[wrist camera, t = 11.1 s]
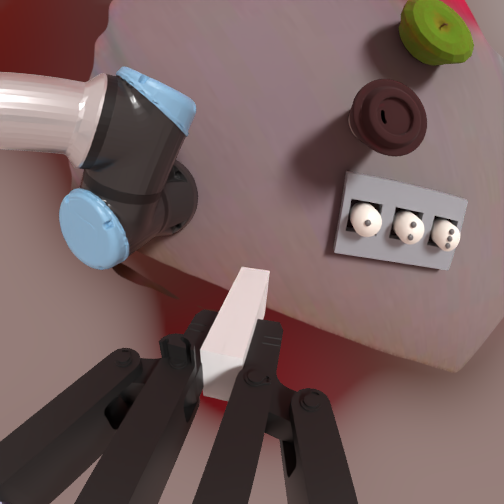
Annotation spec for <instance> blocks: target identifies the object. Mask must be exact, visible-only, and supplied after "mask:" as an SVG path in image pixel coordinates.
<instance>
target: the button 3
mask: <svg viewBox="0 0 504 504" xmlns="http://www.w3.org/2000/svg"><path fill="white" fill-rule="evenodd" d="M430 238H431V239H432V240H433V241H434V242H435V243H436V244H437V245H438V246H439V247H440V248H441V249H442V250H443V251H452V250H453V249H455V248H456V246H457V245H458V243H459V241H460V232H459V230H458V228H457V227H456V226H454V225H453V224H451V223H450V222H449V221H447V220H446V219H444V218H437V219H435V220H434V221H433V225H432V229H431V232H430Z"/></svg>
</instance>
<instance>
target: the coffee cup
mask: <svg viewBox="0 0 504 504" xmlns="http://www.w3.org/2000/svg"><path fill="white" fill-rule="evenodd" d="M349 126H350V129H351V131H352V133H353V134H354V135H355V136H356V137H357V138H358V139H359V140H360V141H362V142H363V143H365V144H366V145H367V146H368V147H370V148H371V149H373V150H374V151H376V152H378V153H381V154H384V155H388V156H402V155H406V154H409V153H410V152H412V151H414V150H415V149H416V148H417V147H418V146H419V145H420V144H421V142H422V141H423V139H424V136H425V133H426V129H427V118H426V113H425V109H424V107H423V105H422V103H421V101H420V99H419V98H418V96H417V95H416V94H415V93H414V92H413V91H412V90H411V89H410V88H409V87H407V86H406V85H404V84H402V83H400V82H398V81H395V80H390V79H379V80H374V81H372V82H370V83H368V84H366V85H365V86H364V87H363V88H362V89H361V90H360V91H359V92H358V93H357V95H356V96H355V98H354V101H353V105H352V108H351V110H350V114H349Z"/></svg>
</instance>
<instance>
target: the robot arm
mask: <svg viewBox="0 0 504 504" xmlns="http://www.w3.org/2000/svg"><path fill="white" fill-rule="evenodd" d="M195 114H196V105H195V103H194V101H193V100H192V99H190V98H189V97H187V96H186V95H184V94H182V93H180V92H178V91H177V90H175V89H173V88H171V87H169V86H167V85H165V84H163V83H161V82H159V81H157V80H155V79H152V78H150V77H148V76H146V75H144V74H141V73H139V72H137V71H135V70H133V69H130V68H128V67H121V68H120V70H119V71H117V73H116V76H112V75H108V74H103V73H102V74H100V75H98V76H96V77H94V78H93V79H91V80H89V81H88V82H79V81H74V80H68V79H61V78H55V77H48V76H40V75H32V74H21V73H8V72H0V149H2V150H22V151H37V152H51V153H61V154H65V155H66V156H67V157H68V158H69V160H70V161H71V163H72V164H73V166H74V167H75V168H80V169H84V172H83V176H82V180H81V185H80V187H79V188H77V189H74V190H72V191H71V192H70V193H69V194H68V195H67V196H65V197H64V199H63V201H62V203H61V206H60V211H59V221H60V227H61V231H62V234H63V236H64V239H65V240H66V242H67V244H68V246H69V248H70V249H71V251H72V252H73V253H74V255H75V256H76V257H77V258H78V259H79V260H80V261H82V262H83V263H84V264H86V265H88V266H90V267H92V268H95V269H99V270H103V269H109V268H112V267H113V266H115V265H117V264H119V263H121V262H123V261H124V260H126V258H127V257H128V256H129V255H131V254H132V253H133V252H135V251H136V250H137V249H139V248H140V247H141V246H143V245H144V244H145V243H147V242H148V241H149V240H151V239H152V238H154V237H155V236H166V235H171V234H174V233H176V232H178V231H179V230H181V229H182V228H183V227H185V226H186V225H187V224H188V223H189V222H190V221H191V219H192V218H193V216H194V214H195V211H196V208H197V203H198V192H197V187H196V183H195V181H194V178H193V177H192V175H191V173H190V172H189V170H188V169H187V168H186V167H185V166H184V165H183V164H181V163H180V162H178V161H176V160H175V159H176V157H177V155H178V153H179V150H180V148H181V146H182V144H183V141H184V139H185V137H187V136H188V134H189V133H188V130H189V128H190V126H191V123H192V121H193V119H194V116H195ZM269 273H270V271H266V270H260V269H253V268H247V267H242V268H241V270H240V272H239V274H238V276H237V277H236V279H235V281H234V283H233V285H232V287H231V289H230V291H229V294H228V295H227V297H226V299H225V301H224V303H223V305H222V307H221V309H220V311H219V312H214V311H209V310H202V311H201V312H199V313H198V314H196V315H195V317H194V318H193V320H192V322H191V324H190V325H189V327H188V329H187V330H186V332H185V333H184V335H183V334H170V335H167V336H165V337H163V338H162V339H161V340H160V341H159V344H160V350H161V355H162V358H159V359H143V358H140V356H139V354H138V353H137V352H136V351H135V350H132V349H130V348H122V349H117V350H116V351H114V352H112V353H111V354H110V355H108V356H107V357H106V358H104V359H103V360H102V361H101V362H99V363H98V364H97V365H96V366H94V367H93V368H92V369H91V370H89V371H88V372H87V373H85V374H84V375H83V376H82V377H80V378H79V379H78V380H77V381H75V382H74V383H73V384H72V385H70V386H69V387H68V388H67V389H65V390H64V391H63V392H62V393H60V394H59V395H58V396H57V397H55V398H54V399H53V400H52V401H50V402H49V403H48V404H47V405H45V406H44V407H43V408H42V409H40V410H39V411H38V412H37V413H35V414H34V415H33V416H32V417H30V418H29V419H28V420H27V421H25V422H24V423H23V424H22V425H20V426H19V427H18V428H17V429H15V430H14V431H13V432H12V433H11V434H10V435H8V436H7V437H6V438H4V439H3V440H2V441H1V442H0V504H50V503H51V502H52V501H53V500H54V499H55V498H56V497H57V496H59V495H60V494H61V493H62V492H63V491H64V490H65V489H66V488H67V487H69V486H70V485H71V484H72V483H73V482H74V481H75V480H76V479H77V478H78V477H79V476H80V475H81V474H82V473H83V472H84V471H86V470H87V469H88V468H89V467H90V466H91V465H92V463H94V462H95V461H96V460H97V459H98V458H99V457H100V456H101V455H102V454H103V455H102V456H101V459H100V460H99V462H98V463H97V465H96V467H95V469H94V470H93V472H92V474H91V475H90V477H89V479H88V480H87V482H86V484H85V486H84V488H83V489H82V491H81V493H80V495H79V496H78V498H77V500H76V502H75V503H74V504H158V502H159V500H160V497H161V495H162V493H163V490H164V488H165V486H166V483H167V481H168V479H169V476H170V474H171V472H172V469H173V467H174V465H175V462H176V460H177V458H178V455H179V453H180V450H181V448H182V446H183V443H184V441H185V438H186V436H187V434H188V431H189V429H190V427H191V424H192V422H193V419H194V417H195V415H196V412H197V410H198V407H199V403H200V399H199V396H200V394H201V392H202V389H203V395H205V396H208V397H213V398H217V399H221V400H225V401H228V404H227V407H226V410H225V413H224V416H223V419H222V421H221V424H220V427H219V430H218V433H217V436H216V439H215V442H214V445H213V447H212V450H211V453H210V456H209V459H208V462H207V465H206V467H205V470H204V473H203V476H202V478H201V481H200V484H199V487H198V489H197V492H196V495H195V498H194V500H193V503H192V504H248V500H249V497H250V493H251V489H252V485H253V481H254V476H255V472H256V468H257V464H258V459H259V455H260V451H261V446H262V442H263V437H264V432H265V433H267V434H269V435H271V436H273V437H275V438H278V439H279V440H280V448H281V455H282V463H283V471H284V478H285V485H286V493H287V501H288V504H358V502H357V497H356V493H355V490H354V486H353V482H352V478H351V474H350V471H349V468H348V463H347V460H346V456H345V452H344V449H343V446H342V442H341V438H340V435H339V431H338V428H337V425H336V421H335V417H334V414H333V411H332V408H331V404H330V401H329V399H328V398H327V396H326V395H325V394H324V393H323V392H321V391H319V390H316V389H310V388H306V389H302V390H299V391H298V392H296V391H294V390H291V389H289V388H287V387H285V386H284V385H283V384H281V383H280V381H279V380H278V378H277V375H276V370H277V364H278V357H279V352H280V346H281V340H282V334H283V329H282V327H281V324H280V323H279V322H274V321H268V320H263V317H264V314H265V306H266V298H267V290H268V281H269Z"/></svg>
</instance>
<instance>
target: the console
mask: <svg viewBox="0 0 504 504" xmlns="http://www.w3.org/2000/svg"><path fill="white" fill-rule="evenodd" d="M351 199H356V200H361V201H367V202H372V203H378V204H379V207H378V213H379V214H380V216H381V219H382V225H381V228H380V230H379V231H378V233H377V234H375V235H374V236H371V237H363V236H361V235H359V234H358V233H357V232H356V231H355V229H354V228H349V227H346V226H347V221H348V215H349V210H350V204H351ZM467 203H468V200H466V199H464V198H461V197H458V196H455V195H451V194H448V193H444V192H440V191H437V190H433V189H429V188H425V187H421V186H417V185H413V184H409V183H405V182H400V181H396V180H391V179H387V178H382V177H377V176H372V175H367V174H361V173H356V172H350V171H346V174H345V181H344V188H343V195H342V201H341V207H340V213H339V219H338V225H337V230H336V236H335V241H334V246H333V249H334V253H339V254H345V255H352V256H359V257H365V258H372V259H378V260H385V261H391V262H398V263H404V264H411V265H417V266H423V267H430V268H436V269H442V270H449V268H450V265H451V262H452V259H453V255H454V252H455V249H456V248H455V249H453V250H452V251H443V250H442V249H441V248H440V247H439V246H438V245H437V244H436V243H433V242H428V240H429V236H430V232H431V229H432V225H433V220H434V216H439V217H443V218H447V219H451V220H452V222H451V224H453V225H454V226H456V227H457V228H458V230H459V232H461V228H462V224H463V220H464V216H465V212H466V208H467ZM396 207H398V208H403V209H408V210H412V211H417V212H418V215H417V217H418V218H419V219H420V220H421V221H422V222H423V224H424V234H423V237H422V238H421V239H420V241H418V242H417V243H415V244H406V243H404V242H403V241H402V240H401V239H400V238H399V237H398V236H396V235H391V234H390V231H391V227H392V222H393V218H394V213H395V208H396Z"/></svg>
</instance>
